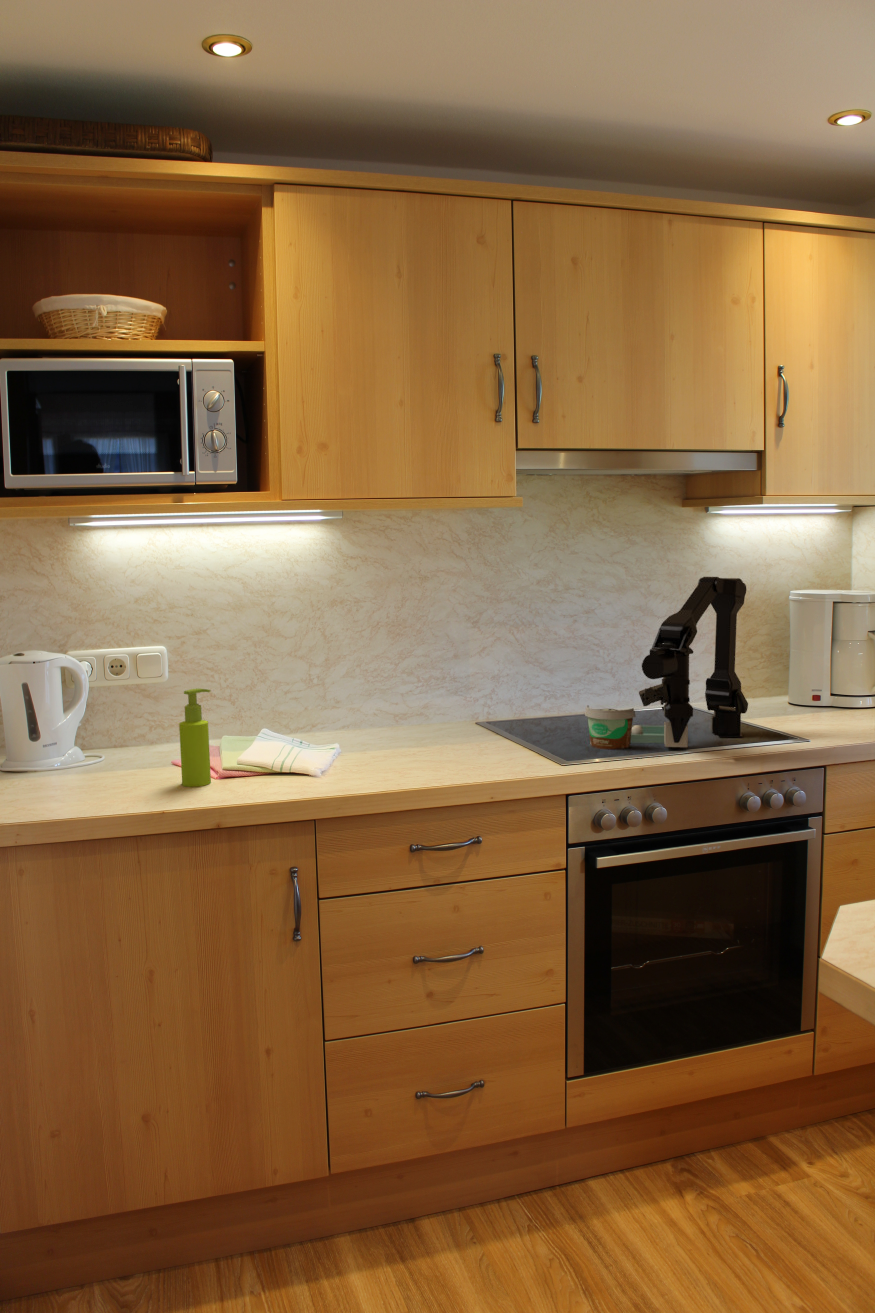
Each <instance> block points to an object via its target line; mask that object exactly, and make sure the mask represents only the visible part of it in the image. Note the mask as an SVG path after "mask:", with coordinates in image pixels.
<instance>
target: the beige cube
mask: <svg viewBox="0 0 875 1313" xmlns="http://www.w3.org/2000/svg"><path fill="white" fill-rule="evenodd" d="M663 724H664V725H663V726H664V743H663V744H664V747H665V748H688V745H689V744H688V739H689V738H688V733H689V732H688V730H689V728H688V724H687V726H686V728H685V730H684V732H683V735H682V737H681V739H680V741H679V743H674V739H673V734H672V728H671V722H669V721H664V722H663Z"/></svg>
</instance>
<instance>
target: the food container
mask: <svg viewBox="0 0 875 1313" xmlns="http://www.w3.org/2000/svg"><path fill="white" fill-rule="evenodd" d="M584 716H585V717H587V723H588V733H589V742H590V746H591V747H593V748H596V749H601V750H623V749H628V748H630V747H631V743H630V740H631V731H632V726H633V720H634V718H636V717H637V716H636V711H635V709H634V707H632V708H628V709H615V708H602V709H601V708H599V709H597V708H591V707H590V706H589V705H586V707H585V712H584Z"/></svg>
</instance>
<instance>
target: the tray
mask: <svg viewBox="0 0 875 1313" xmlns="http://www.w3.org/2000/svg"><path fill="white" fill-rule="evenodd" d="M633 726H634V725H632V727H633ZM640 726H641V727H642V729H643V735H634V734H632V732H631V740H630V744H664V725H640Z"/></svg>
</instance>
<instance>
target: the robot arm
mask: <svg viewBox="0 0 875 1313" xmlns="http://www.w3.org/2000/svg"><path fill="white" fill-rule="evenodd" d="M746 594H747V585H746V584H745V583H744V581H743V580H742V579H741V578H736V577H734V578H733V577H730V578H729V577H719V576H703V577H700V578H699V579H698V581H697V586H696V587H695V589H694V590H693V591H692V593H691V594H690V595H689V597H688V598H687V599H686V601H685V602H684V604H683V605H682V607H681V608H680V610H679V611H677V612H675V613H673V614H671V615H669V616H668V617H667V618H666V619H665V620H664V621H662V623H661V625H660V626H659V628H658V631H657V633H656V635H655V638H654V641H653V644H652V645H651V648H650V649H649V654H647V655H646V656H645V657H644V659H643V660H642V663H641V670H642V672H643V675H644V676H645V677H646V678H647V679H650V680H658V679H661V683H660V684H656V685H653V686H649V687H648V688H646V687H645V688H644V689H641V690H639V691H638V695H639V697H640V700H641V703H642V705H643V707H647V706H650V705H651V704H654V703H657V702H660V705H662V706H661V710H662V711H663V716H664V717H665V718H666V720H667V719H668V722H671V728H672V734H673V739H674V743H679V741H680V739H681V737H682V735H683V732H684V730H685V728H686V726H687V725H688V723H689V721H690V719H691V718H692V717H694V707H693V705H691V703H690V701H691V700H690V699H691V698H690V696H689V694H690V684H691V681H690V655H691V654H692V655H693V654H694V650H693V649H692V648H691V647H690V646H691V644H692V643H693V642H694V640H695V638H696V635H697V634H698V627H697V625H698V623H699V621H700V620H701V618H702V616H703V615H704V613H706V611H707V610H708V608H709V607H710V605H711V607H712V608H713V610H714V612H715V614H716V615H715V616H716V618H715V619H716V620H715V640H714V641H715V643H714V644H715V645H714V670H713V673H712V674H711V675H710V676H709V677H707V678H706V680H705V692H704V697H705V702H706V708H707V711H708V712H709V711H712V712H713V715H711V720H710V721H711V722H710V723H711V724H710V725H711V726H710V728H711V729H710V731H711V732H710V733H712V734H714V736H718V737H719V738H742V736H743V735H742V733H741V731H742V730H741V727H742V726H741V725H742V723H741V722H742V714H746V713H747V712H748V709H749V702H748V700H747V699H746V697H745V695H744V693H743V691H742V682H741V680H740V678H739V677H738V675H737V673H736V647H737V646H736V644H737V643H736V642H737V623H738V622H737V618H738V613H739V611H740V610H741V608H742V607H743V606H744V603H745V598H746Z"/></svg>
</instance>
